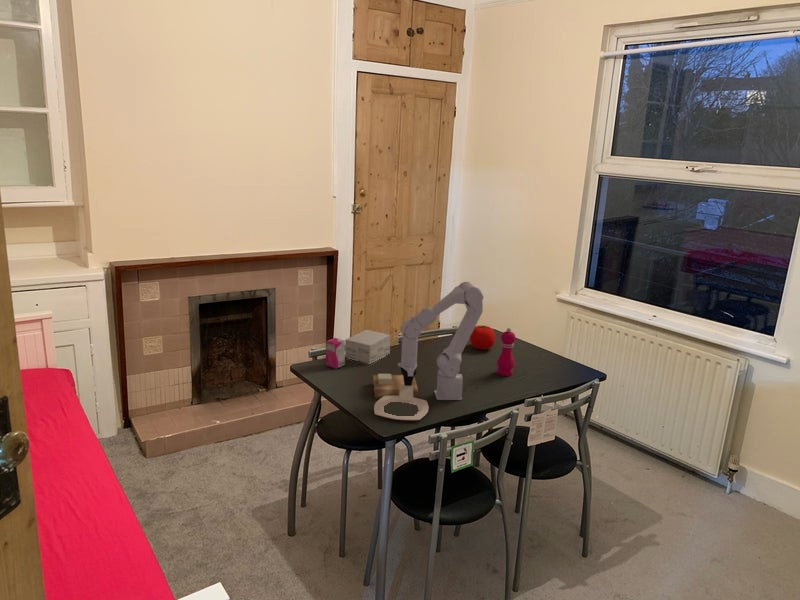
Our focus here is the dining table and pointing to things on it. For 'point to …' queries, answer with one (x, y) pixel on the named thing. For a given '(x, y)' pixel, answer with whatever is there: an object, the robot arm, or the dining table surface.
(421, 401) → the pale beige plate
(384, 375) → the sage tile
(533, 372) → the dining table surface
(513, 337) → the pepper mill
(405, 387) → the white tile
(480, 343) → the tomato
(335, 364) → the supplement box
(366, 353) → the supplement box
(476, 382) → the dining table surface
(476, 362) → the dining table surface
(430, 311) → the robot arm
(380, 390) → the oak board
